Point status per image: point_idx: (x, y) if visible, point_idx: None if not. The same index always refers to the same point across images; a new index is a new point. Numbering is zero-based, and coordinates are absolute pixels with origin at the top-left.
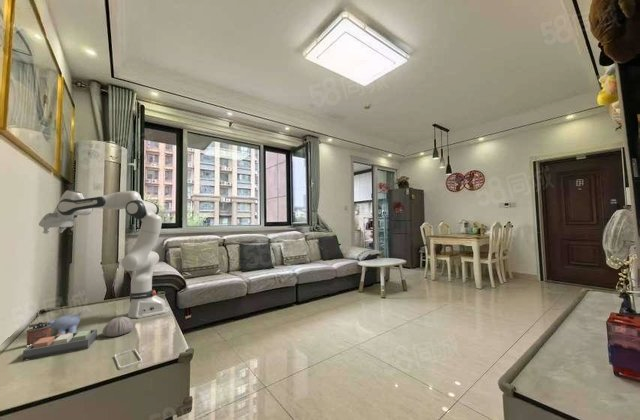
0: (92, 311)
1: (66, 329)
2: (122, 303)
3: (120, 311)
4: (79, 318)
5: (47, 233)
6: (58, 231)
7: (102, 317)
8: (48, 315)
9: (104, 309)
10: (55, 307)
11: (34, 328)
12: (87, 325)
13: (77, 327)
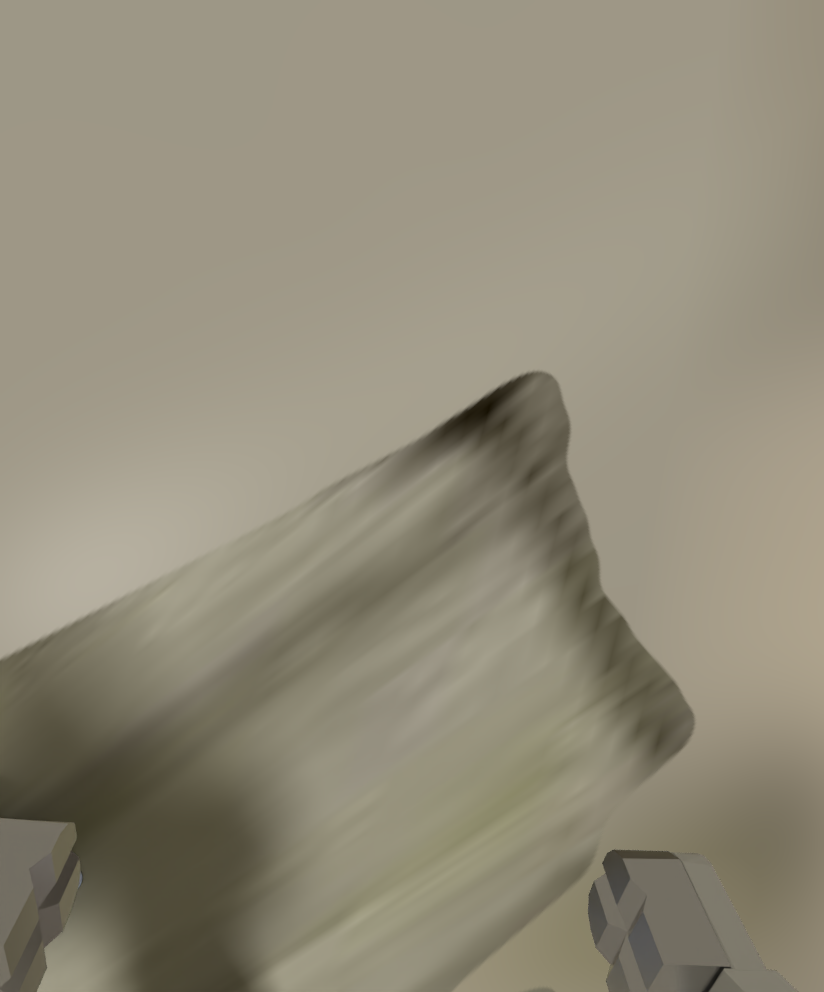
0: (398, 745)
1: None
2: (541, 829)
3: (347, 943)
4: None
5: (69, 889)
6: (618, 890)
7: (243, 907)
8: (383, 511)
9: (424, 797)
10: (560, 416)
11: None
12: (102, 923)
13: None
